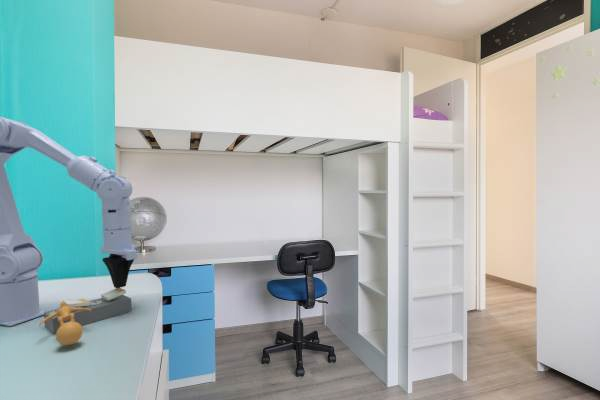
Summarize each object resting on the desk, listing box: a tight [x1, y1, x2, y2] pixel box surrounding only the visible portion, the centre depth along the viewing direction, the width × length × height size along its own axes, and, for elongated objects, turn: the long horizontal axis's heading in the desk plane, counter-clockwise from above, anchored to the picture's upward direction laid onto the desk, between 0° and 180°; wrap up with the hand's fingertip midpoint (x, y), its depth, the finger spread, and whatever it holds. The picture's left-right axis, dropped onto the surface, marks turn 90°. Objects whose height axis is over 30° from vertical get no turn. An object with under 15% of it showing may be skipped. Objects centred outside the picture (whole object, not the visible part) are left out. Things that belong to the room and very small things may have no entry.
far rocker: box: [100, 287, 127, 300], centre depth 78 cm, size 4×4×1 cm
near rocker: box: [62, 298, 90, 308], centre depth 72 cm, size 4×4×1 cm
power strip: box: [43, 294, 133, 335], centre depth 74 cm, size 15×6×3 cm, turn 140°
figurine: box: [38, 301, 91, 346], centre depth 64 cm, size 8×6×12 cm
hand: (120, 286), depth 79 cm, fingers closed
